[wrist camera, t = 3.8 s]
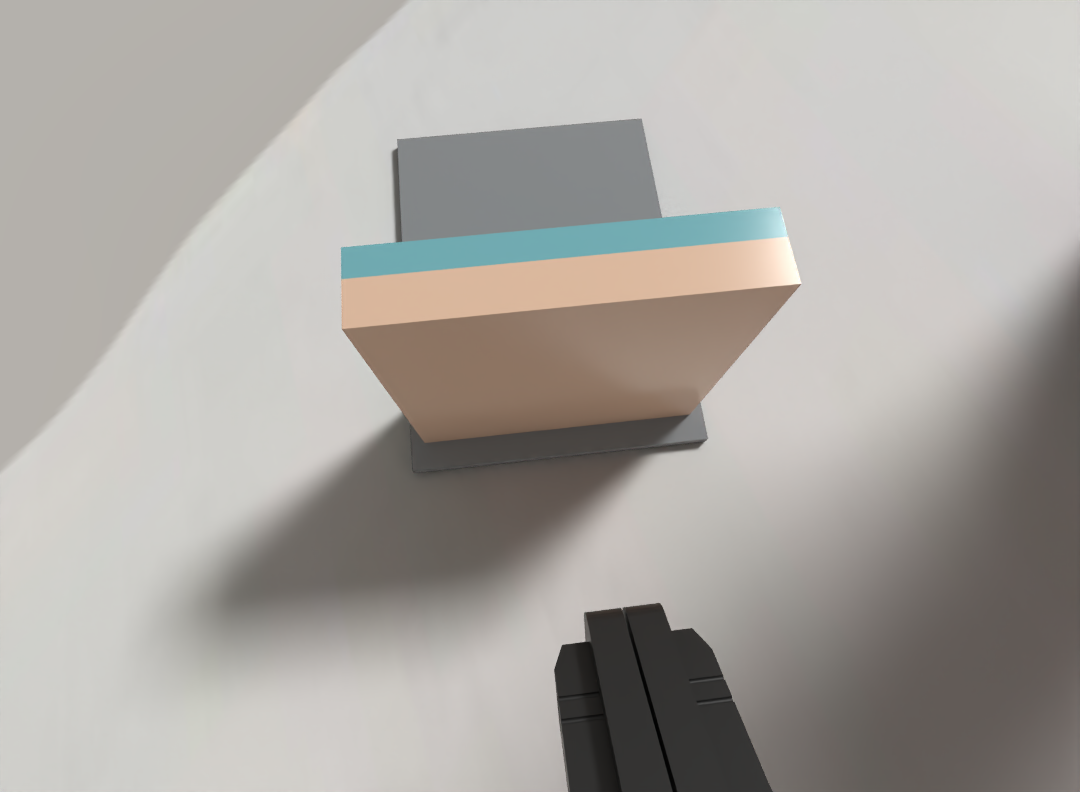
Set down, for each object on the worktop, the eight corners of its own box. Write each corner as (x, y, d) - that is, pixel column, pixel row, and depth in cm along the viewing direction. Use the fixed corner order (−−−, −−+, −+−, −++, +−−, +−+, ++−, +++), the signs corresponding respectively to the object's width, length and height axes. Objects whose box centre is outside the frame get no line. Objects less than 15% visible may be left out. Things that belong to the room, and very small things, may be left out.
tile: (679, 365, 23) (779, 206, 14) (689, 414, 23) (801, 283, 13) (422, 392, 23) (340, 247, 13) (424, 443, 22) (341, 329, 13)
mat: (639, 125, 27) (641, 118, 27) (704, 441, 23) (707, 438, 22) (399, 146, 27) (397, 139, 27) (414, 473, 22) (412, 470, 22)
